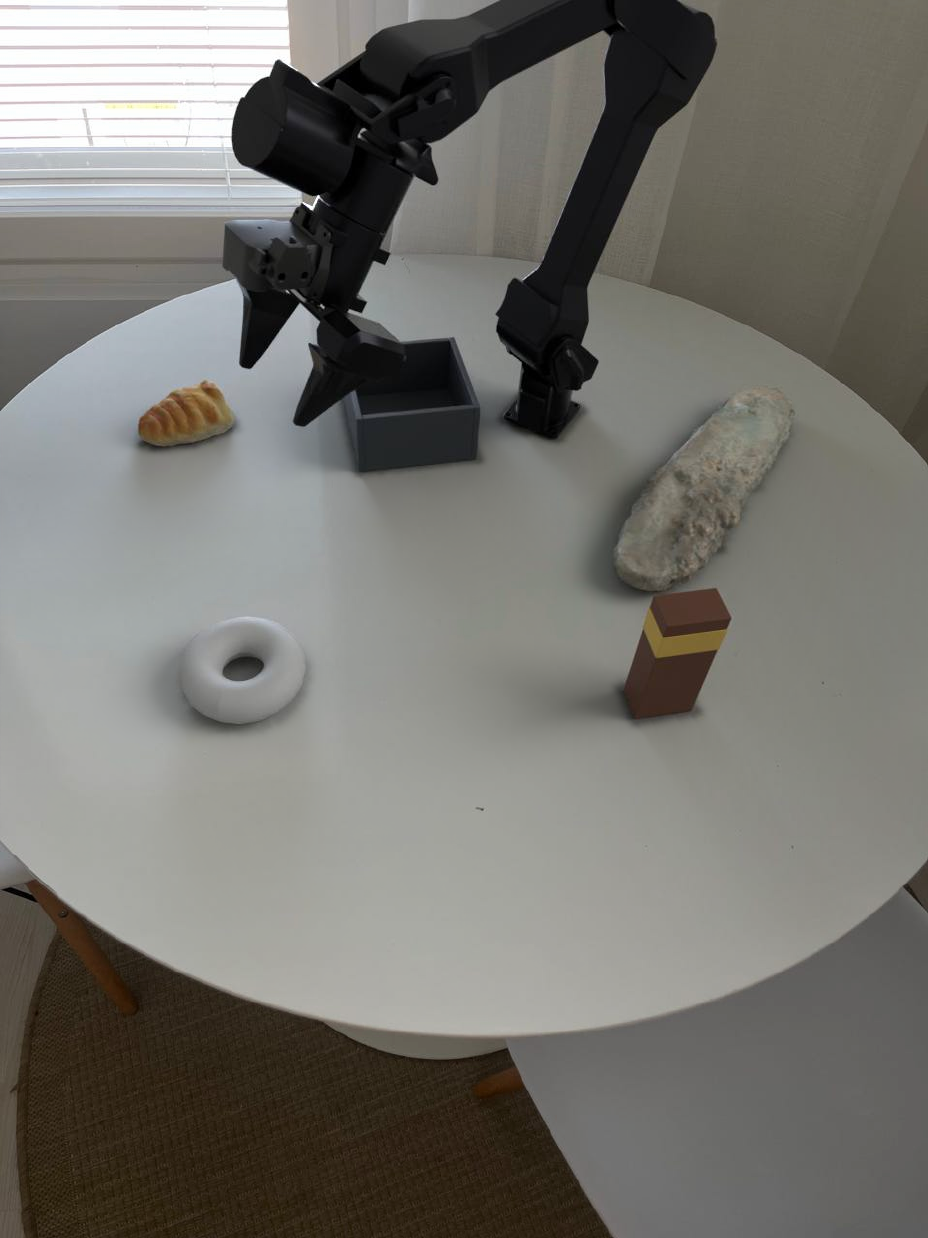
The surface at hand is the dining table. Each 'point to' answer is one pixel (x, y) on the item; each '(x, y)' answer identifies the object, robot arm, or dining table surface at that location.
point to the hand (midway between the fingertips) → (270, 395)
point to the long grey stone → (702, 490)
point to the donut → (248, 696)
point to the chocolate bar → (675, 652)
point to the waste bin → (416, 411)
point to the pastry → (187, 416)
